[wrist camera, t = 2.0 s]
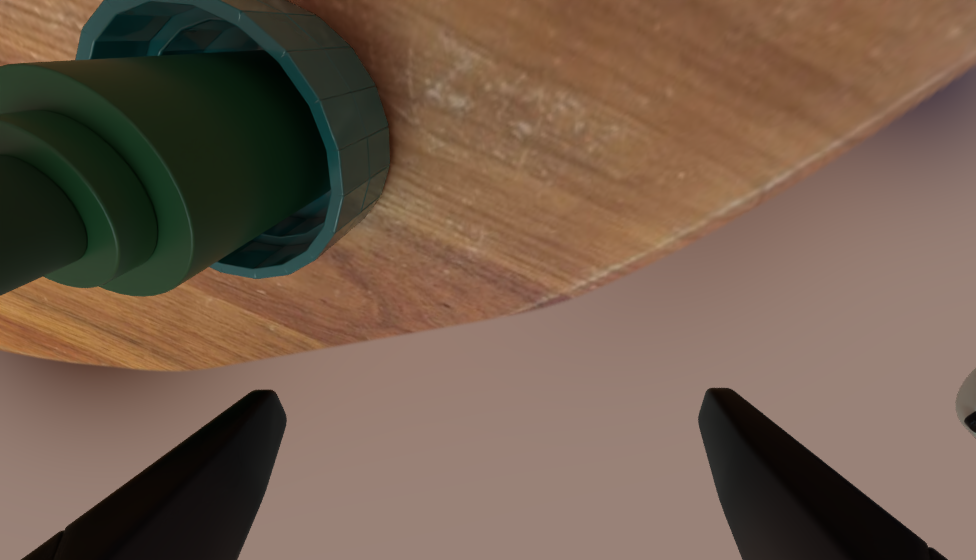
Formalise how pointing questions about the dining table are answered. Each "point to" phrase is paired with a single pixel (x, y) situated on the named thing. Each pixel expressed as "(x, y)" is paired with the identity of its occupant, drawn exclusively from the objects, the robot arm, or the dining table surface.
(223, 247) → the bottle
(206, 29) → the glazed bowl
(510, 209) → the dining table surface
